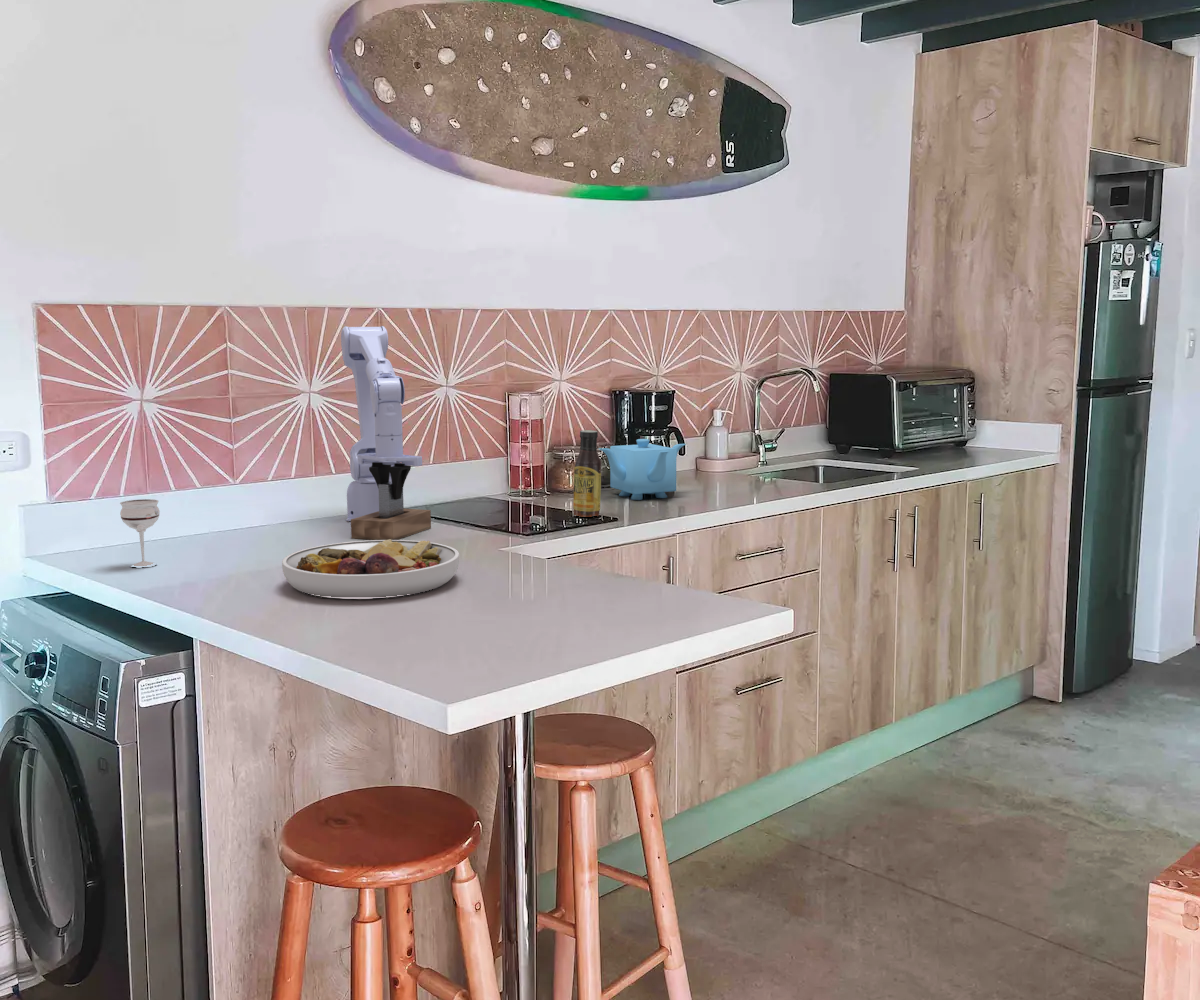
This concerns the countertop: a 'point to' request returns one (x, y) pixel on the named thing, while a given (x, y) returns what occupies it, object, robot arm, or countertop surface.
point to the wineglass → (140, 519)
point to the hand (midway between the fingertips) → (391, 498)
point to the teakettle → (642, 468)
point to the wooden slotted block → (390, 525)
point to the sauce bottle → (587, 477)
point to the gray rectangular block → (389, 502)
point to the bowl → (371, 568)
